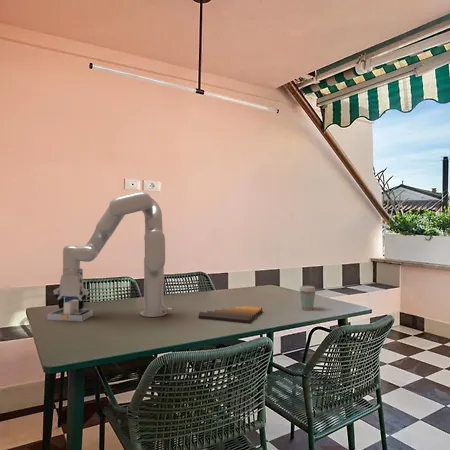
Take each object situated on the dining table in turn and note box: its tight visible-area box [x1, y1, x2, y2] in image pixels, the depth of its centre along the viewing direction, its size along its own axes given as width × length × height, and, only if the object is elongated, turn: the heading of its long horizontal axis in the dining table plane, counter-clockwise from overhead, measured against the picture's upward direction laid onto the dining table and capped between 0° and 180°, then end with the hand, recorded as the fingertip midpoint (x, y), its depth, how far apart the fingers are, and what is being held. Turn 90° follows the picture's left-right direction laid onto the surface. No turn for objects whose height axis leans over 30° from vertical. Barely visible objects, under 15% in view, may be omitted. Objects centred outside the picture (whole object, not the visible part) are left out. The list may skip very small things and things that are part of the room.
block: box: [63, 300, 79, 315], centre depth 179 cm, size 3×8×7 cm, turn 173°
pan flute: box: [197, 305, 263, 324], centre depth 188 cm, size 25×3×25 cm
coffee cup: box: [299, 285, 317, 311], centre depth 203 cm, size 9×8×12 cm
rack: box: [46, 307, 94, 322], centre depth 179 cm, size 17×11×4 cm
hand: (70, 308), depth 179 cm, fingers open, 9 cm apart
